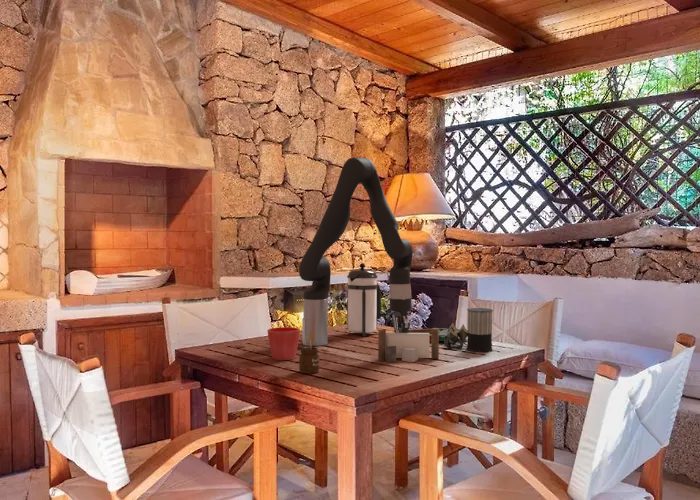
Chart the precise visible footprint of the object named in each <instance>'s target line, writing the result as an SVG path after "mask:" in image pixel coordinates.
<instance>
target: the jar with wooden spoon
mask: <svg viewBox="0 0 700 500" xmlns="http://www.w3.org/2000/svg"><path fill="white" fill-rule="evenodd" d="M314 335H315V330H314V334H313V330H312V335H311V330H310V336H305V337H309V339H308V340H310V345H309V346H307V345H306V344H305V345H304V344H303V343H302V344H303V347H301V348H300V352H299V353H300V354H299V361H298V365H299V367H298V368H299V369H298V370H299V372H300V373H301V374H307V375H308V374H309V375H310V374H316V373H319V371H320V356H319V354H318V353H319V349H318V347H315V346H314V347H313V346H312V341H314ZM312 336H313V338H312ZM303 339H304V338H303Z"/></svg>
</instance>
